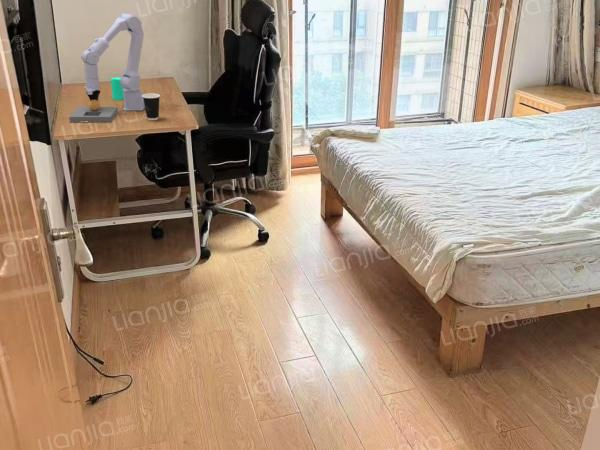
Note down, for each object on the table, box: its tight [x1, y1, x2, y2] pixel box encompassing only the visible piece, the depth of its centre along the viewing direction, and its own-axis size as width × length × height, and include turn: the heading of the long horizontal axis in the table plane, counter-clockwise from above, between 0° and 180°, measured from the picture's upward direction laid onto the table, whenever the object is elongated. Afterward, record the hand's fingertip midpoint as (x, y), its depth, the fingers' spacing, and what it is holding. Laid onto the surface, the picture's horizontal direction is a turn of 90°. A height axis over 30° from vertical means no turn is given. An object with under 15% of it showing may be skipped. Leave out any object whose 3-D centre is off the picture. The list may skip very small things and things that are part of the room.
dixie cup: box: [142, 93, 161, 121], centre depth 280 cm, size 8×8×11 cm
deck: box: [69, 106, 119, 123], centre depth 281 cm, size 18×18×2 cm
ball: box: [88, 100, 101, 110], centre depth 282 cm, size 5×5×5 cm
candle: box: [110, 75, 124, 101], centre depth 311 cm, size 6×6×12 cm
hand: (94, 106), depth 285 cm, fingers closed, pressing on ball
